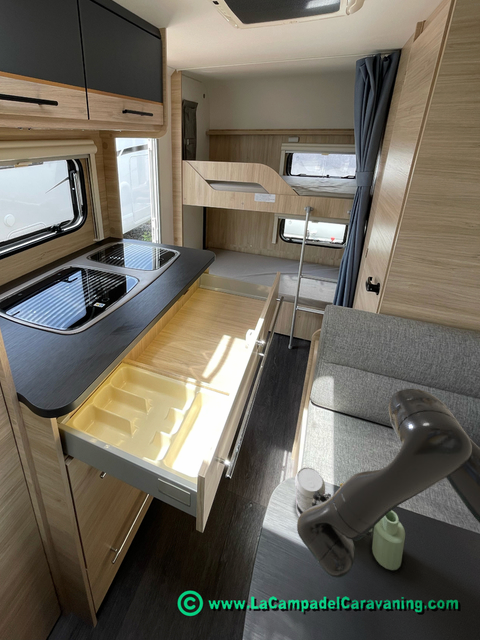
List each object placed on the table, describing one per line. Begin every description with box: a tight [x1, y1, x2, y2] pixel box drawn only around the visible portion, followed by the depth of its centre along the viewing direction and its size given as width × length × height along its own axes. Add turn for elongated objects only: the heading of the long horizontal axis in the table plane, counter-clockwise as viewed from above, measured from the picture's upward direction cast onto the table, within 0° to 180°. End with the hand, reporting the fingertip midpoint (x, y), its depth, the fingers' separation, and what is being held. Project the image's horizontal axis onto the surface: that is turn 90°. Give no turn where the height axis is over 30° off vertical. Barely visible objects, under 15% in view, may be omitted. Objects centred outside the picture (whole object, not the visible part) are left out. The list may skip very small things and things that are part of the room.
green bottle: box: [371, 509, 406, 571], centre depth 84 cm, size 7×7×16 cm
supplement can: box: [294, 466, 326, 518], centre depth 96 cm, size 8×8×15 cm
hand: (345, 506), depth 88 cm, fingers open, 8 cm apart
